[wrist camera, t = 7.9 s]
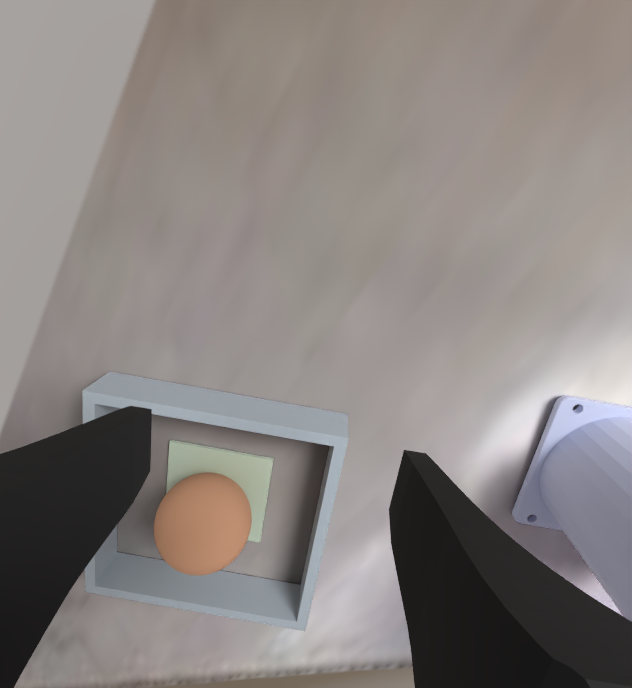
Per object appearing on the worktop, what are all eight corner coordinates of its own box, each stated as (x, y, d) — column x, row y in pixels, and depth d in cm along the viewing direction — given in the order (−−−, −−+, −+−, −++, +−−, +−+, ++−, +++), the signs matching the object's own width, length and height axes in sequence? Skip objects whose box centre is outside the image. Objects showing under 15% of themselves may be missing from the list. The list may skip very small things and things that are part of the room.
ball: (266, 464, 23) (250, 530, 19) (250, 532, 25) (232, 608, 20) (179, 445, 23) (141, 507, 18) (169, 515, 25) (131, 588, 20)
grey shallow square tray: (347, 414, 22) (348, 438, 20) (308, 593, 26) (305, 631, 24) (109, 371, 22) (82, 390, 20) (107, 557, 26) (84, 591, 24)
